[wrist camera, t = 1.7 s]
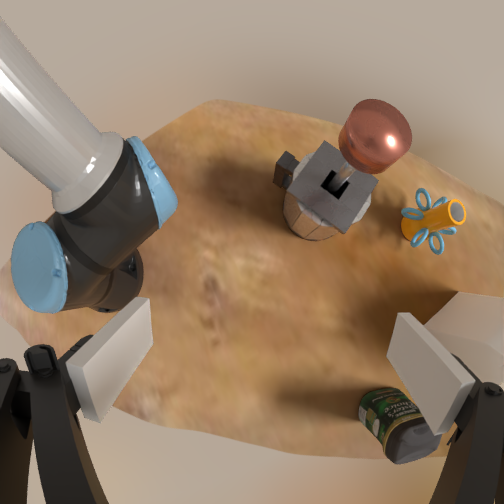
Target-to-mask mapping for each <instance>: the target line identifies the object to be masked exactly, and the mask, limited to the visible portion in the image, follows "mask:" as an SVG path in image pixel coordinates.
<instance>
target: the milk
mask: <svg viewBox="0 0 504 504" xmlns="http://www.w3.org/2000/svg"><path fill="white" fill-rule="evenodd" d="M423 326H424V327H425V328H426V329H427V330H428V331H429V332H430V333H431V334H432V335H433V336H434V337H435V338H436V339H437V340H438V341H439V342H440V343H441V344H442V345H443V346H444V347H445V348H446V349H447V350H448V351H449V352H450V353H452V354H454V355H455V356H457V357H459V358H460V359H461V360H462V361H463V362H464V364H465V365H466V366H467V367H468V369H470V370H471V371H472V372H473V373H474V374H475V375H476V376H477V377H478V378H479V379H480V381H481V382H483V383H484V382H492V383H495V384H497V385H501V384H502V383H503V382H504V298H501V297H494V296H487V295H480V294H473V293H466V292H458V293H457V294H456V295H455V296H454V297H453V298H452V299H451V300H450V301H449V302H448V303H447V304H446V305H445V306H444V307H443V308H442V309H441V310H440V311H438V312H437V313H436V314H435V315H434V316H433V317H432V318H431V319H430V320H429V321H428V322H427V323H426V324H424V325H423Z"/></svg>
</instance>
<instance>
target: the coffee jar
mask: <svg viewBox="0 0 504 504" xmlns="http://www.w3.org/2000/svg"><path fill="white" fill-rule="evenodd" d="M359 419H360V421H361V422H362V423H363V425H364V426H365V427H366V428H367V429H368V430H369V431H370V432H371V433H372V434H373V435H374V436H375V437H376V438H377V439H378V440H379V442H380V443H381V444H382V446H383V452H384V454H385V456H386V457H387V458H388V459H390V460H391V461H392V462H393V463H395V464H404V463H408V462H411V461H415V460H418V459H421V458H423V457H426V456H428V455H429V454H431V453H432V452H433V451H435V450H436V449H437V448H438V445H439V443H440V440H441V436H442V434H438V435H435V436H434V434H433V432H432V430H431V429H430V427H429V425H428V424H427V422H426V420H425V418H424V417H423V415H422V413H421V412H420V410H419V408H418V407H417V406H416V405H415V404H414V403H412V402H411V401H410V400H409V399H408V398H407V396H406V395H405V394H404V393H403V392H401V391H400V390H399V389H397V388H387V389H380V390H376V391H372V392H369V393H368V394H366V395H365V396H364V397H363V399H362V400H361V403H360V407H359Z"/></svg>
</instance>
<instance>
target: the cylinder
mask: <svg viewBox="0 0 504 504" xmlns="http://www.w3.org/2000/svg"><path fill="white" fill-rule="evenodd" d="M421 192H422V193H423V194H424V195H425V197H426V199H427V206H426V207H423V206H422V204H421V202H420V198H419V196H420V193H421ZM416 202H417V205H418V207H419V208H418V209H414V208H404V209H402V210H401V213H402V215H403V216H404V217H403V219H402V222H401V229H402V232H403V235H404V236H405V237H406V238H407V239H408V240H409V241H411V243H410V244H411V246H412V247H417V246H419V245H420V244H421V243H422V242H423V241H424V240H427V239H429V245H430V248H431V250H432V251H433V252H434V253H435V254H437V255H439V254H441V253H442V252H443V250H444V242H443V239H442V237H441V235H440V234H439V233H438V232H440V233H443V234H448V235H452V234H455V233H456V229H455V227H454V226H457V225H461V224H463V223H464V221H465V219H466V210H465V207H464V205H463V204H462V203H461V202H460V201H459V200H457V199H453V200H451V201H448V202H447V198H446V197H441V198H440V199H438V200H437V201H436V202H435V204H434V205H433V206H432V208H431V209H430V207H431V199H430V196H429V194H428V192H427V191H426V190H425V189H423V188H419V189H418V190H417V192H416ZM441 202H442V204H441V205H439V204H440V203H441ZM438 205H439V206H438ZM406 212H409V213H406ZM444 229H450V230H451V231H449V230H444ZM436 231H438V232H436ZM433 236H436V237H437V238H438V240H439V242H440V249H439V250H436V249H435V247H434V245H433V241H432V239H433Z"/></svg>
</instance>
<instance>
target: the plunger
mask: <svg viewBox="0 0 504 504" xmlns="http://www.w3.org/2000/svg"><path fill="white" fill-rule="evenodd" d="M338 141H339V148H340V151H341V153H342V155H343V157H344V158H345V160H346V162H345V163H344V165H343V166H342V167H341V169H340V170H339V171H338V173H337V174H336V175H335V177H334V178H333V179H332V181H331V182H330V183H329V185H328V186H327V187H326V188H325V190H326V191H327V192H329V193H330V194H331V195H333V194H334V193H335V192H336V191H337V190H338V189H339V188H340V187H341V186H342V185H343V183H344V182H345V181H346V180H347V179H348V178H349V177H350V176H351V175H352V174H353V172H354V171H355V170H356V169H357V170H359V171H361V172H363V173H367V174H378V173H382V172H384V171H385V170H386V169H388V168H389V167H390V166H391V165H392V164H393V163H395V162H396V161H397V160H398V159H399V158H400V157H402V156H403V155H404V154H405V153H406V152H407V151H408V150H409V148H410V146H411V142H412V133H411V129H410V127H409V124H408V122H407V120H406V119H405V117H404V116H403V115H402V114H401V113H400V112H399V111H398V110H397V109H396V108H395V107H393V106H392V105H390V104H388V103H386V102H384V101H381V100H376V99H367V100H363V101H361V102H359V103H358V104H357V105H356V106H355V107H354V108H353V110H352V112H351V114H350V115H349V117H348V119H347V121H346V123H345V125H344V126H343V128H342V130H341V132H340V134H339V140H338Z"/></svg>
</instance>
